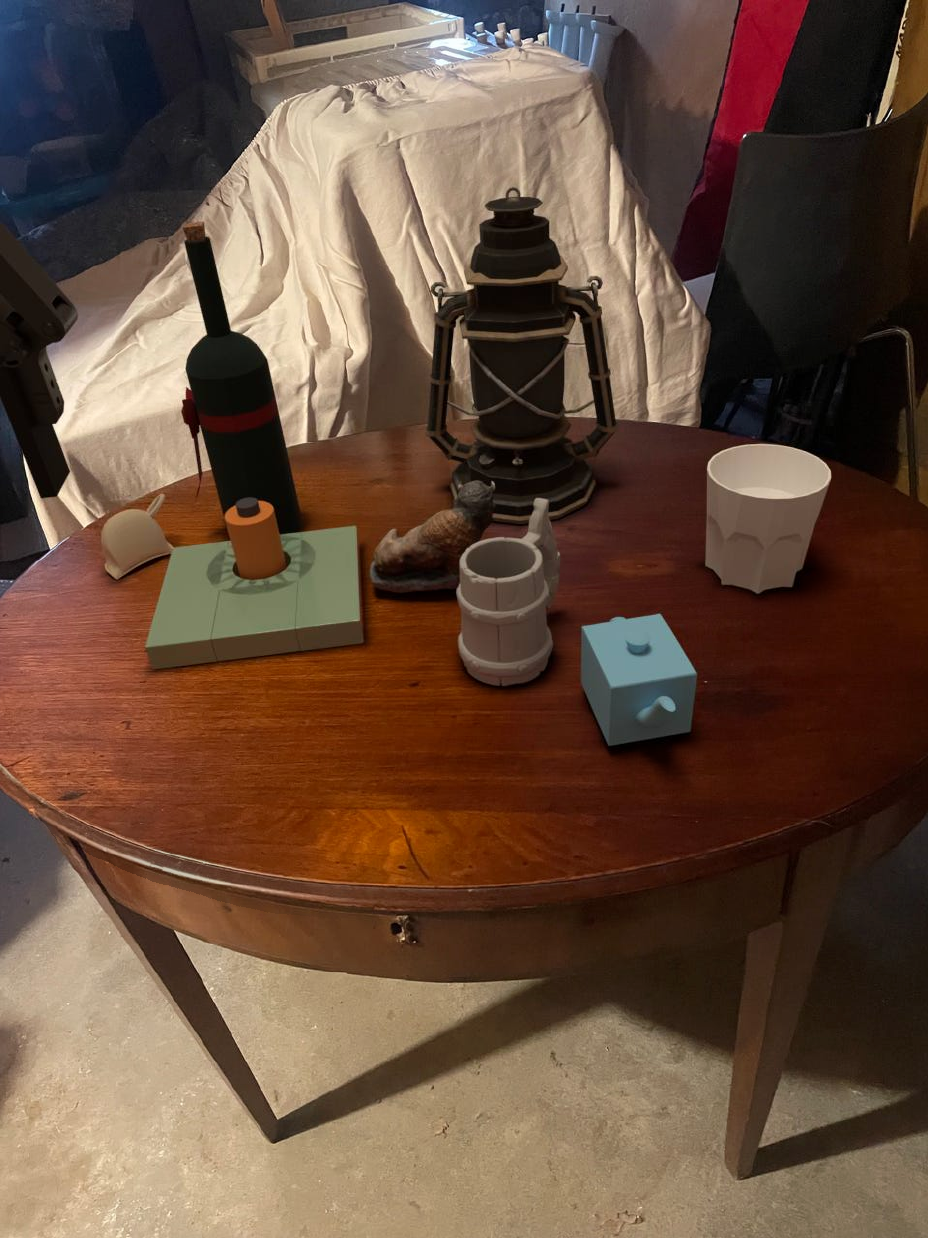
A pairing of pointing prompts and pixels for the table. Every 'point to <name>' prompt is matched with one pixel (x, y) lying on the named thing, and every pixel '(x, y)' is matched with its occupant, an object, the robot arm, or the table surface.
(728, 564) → the cup
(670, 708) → the teapot
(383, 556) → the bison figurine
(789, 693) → the table surface
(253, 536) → the orange cylinder
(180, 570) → the green peg socket base
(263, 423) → the wine bottle
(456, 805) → the table surface
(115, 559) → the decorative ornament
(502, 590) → the mug
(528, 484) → the lantern
